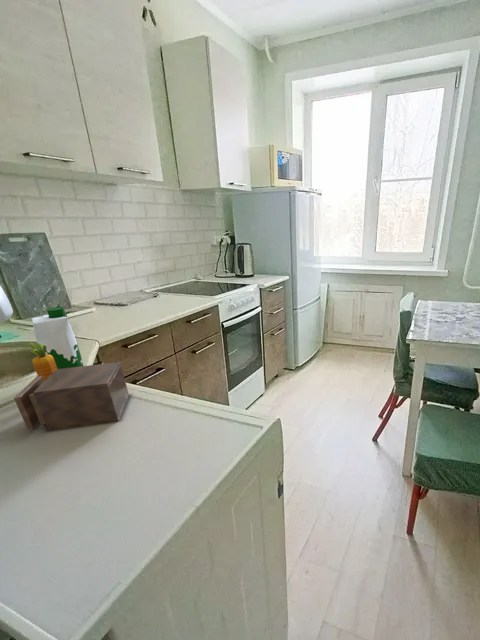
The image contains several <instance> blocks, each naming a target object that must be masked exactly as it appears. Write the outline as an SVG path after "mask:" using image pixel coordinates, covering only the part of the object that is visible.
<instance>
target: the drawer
mask: <svg viewBox="0 0 480 640" xmlns="http://www.w3.org/2000/svg"><path fill="white" fill-rule="evenodd" d="M47 378H48V377H47ZM47 378H46V379H47ZM43 382H44V379H43V376H38V375H37V376H35V377H34V378H33V379H32V380H31V381H30V382H29V383H28V384H27V385H26V386H25V387H24V388H23V389H22V390H20V391H19V392H18V393H17V394H16V395H15V396H14V397H13V400H14V401H15V405H16V406H17V409H18V411H19V413H20V415H21V417H22V420H23V422H24V425H25V426H26V428H27V430H32V429H34V428H36V427H37V425H38V424H39V423H40V425H46V423H45V420H44V418H43V416H42V413H41V411H40V408H39V406H38V404H37V401H36V399H35V396H34V394H33V392H34V391H35V390H36V389H37V388H38V387H39V386H40V385H41V384H42V383H43Z"/></svg>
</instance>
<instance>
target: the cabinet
mask: <svg viewBox="0 0 480 640" xmlns="http://www.w3.org/2000/svg"><path fill="white" fill-rule="evenodd" d="M33 394H34V396H35V399H36V401H37V404H38V406H39V408H40V411H41V413H42V416H43V418H44V420H45V423H46V424H45V425H46V428H47V430H48V431H49V432H51V431H58V430H64V429H65V430H66V429H73V428H79V427H86V426H92V425H93V426H94V425H100V424H108V423H114V422H119V421H120V419H121V416H122V414H123V412H124V409H125V407H126V405H127V403H128V400H129V398H130V394H129V390H128V386H127V383H126V378H125V375H124V372H123V369H122V364H121V362H120V361H116V362H108V363H99V364H91V365H83V366H81V367H72V368H64V369H56V370H55V371H54V372H53V373H52V374H51V375H50V376H49V377H48V378H47V379H46V380H45V381H44V382H43V383H42V384H41V385H40V386H39V387H38V388H37V389H36V390H35V391H34V392H33Z"/></svg>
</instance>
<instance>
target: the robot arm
mask: <svg viewBox="0 0 480 640" xmlns="http://www.w3.org/2000/svg"><path fill="white" fill-rule="evenodd" d="M13 313H14V310H13V307H12V305H11V302H10V300H9V298H8V296H7V294H6V292H5V290H4V289H3V288H2V286H1V285H0V322H5V321H7V320H9V319H10V318H12V316H13Z"/></svg>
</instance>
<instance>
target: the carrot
mask: <svg viewBox="0 0 480 640" xmlns="http://www.w3.org/2000/svg"><path fill="white" fill-rule="evenodd" d="M28 345H29V347H31V348H32V350H31V351H30V353H32V354H34V355H36V356H35V357H33V358H32V362H31V363H32V367H33V368H34V371H35V373H36V375H37V376H43V379H44V381H45V380H46V378H47V377H49V376H50V375H51V374H52V373H53V372H54V371H55V370H56V369H57V366H56V363H55V360H54V358H53V356H51V355H45V349H46V345H45V344H44V345H43V346H42V344H38V343H37V345H36V344H35V343H34V342H30V343H29V344H28ZM40 349H41V351H40ZM41 352H42V353H41Z"/></svg>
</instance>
